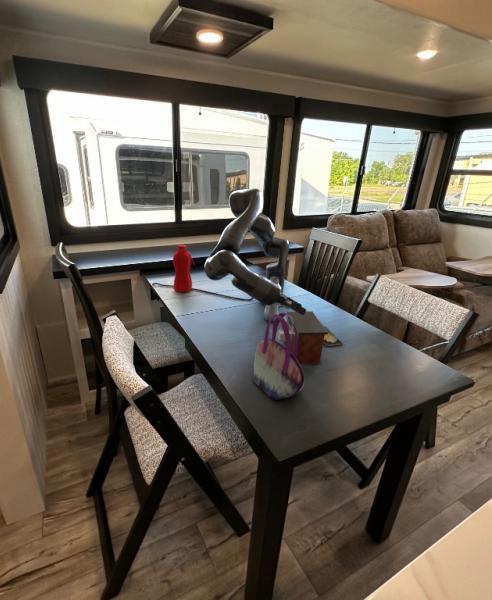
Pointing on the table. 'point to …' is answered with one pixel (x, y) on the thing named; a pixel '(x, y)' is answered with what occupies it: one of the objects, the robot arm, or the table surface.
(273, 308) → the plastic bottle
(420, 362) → the table surface
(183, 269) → the water bottle
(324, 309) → the table surface
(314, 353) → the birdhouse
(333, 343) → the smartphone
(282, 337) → the piano key
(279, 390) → the handbag
